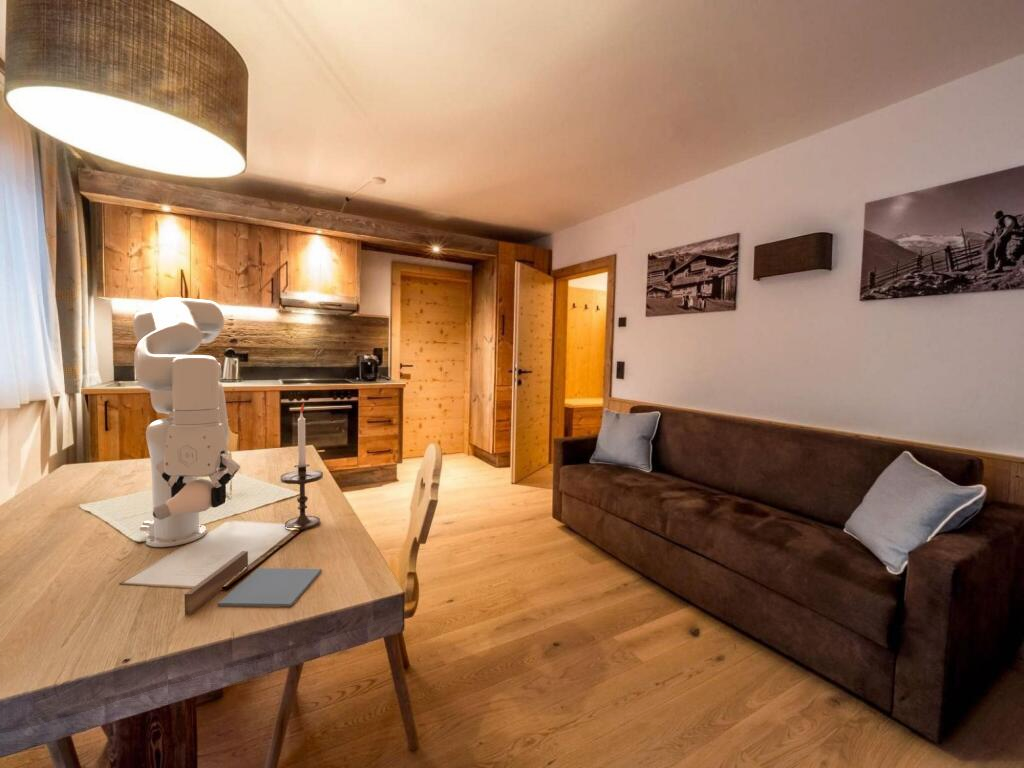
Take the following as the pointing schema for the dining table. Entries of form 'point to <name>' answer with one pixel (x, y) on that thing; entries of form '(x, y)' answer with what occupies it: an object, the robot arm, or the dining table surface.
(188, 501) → the light bulb
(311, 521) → the candlestick
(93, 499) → the dining table surface
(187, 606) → the low wall
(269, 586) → the mat
